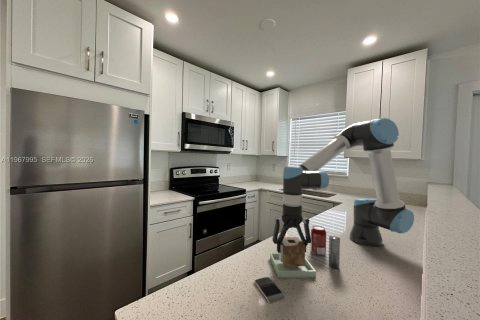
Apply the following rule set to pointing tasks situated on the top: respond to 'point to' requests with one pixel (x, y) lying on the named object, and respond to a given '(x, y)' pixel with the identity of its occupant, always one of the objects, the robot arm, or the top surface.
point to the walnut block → (293, 252)
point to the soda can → (318, 240)
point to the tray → (291, 269)
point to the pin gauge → (334, 252)
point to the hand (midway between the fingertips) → (291, 259)
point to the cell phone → (269, 289)
